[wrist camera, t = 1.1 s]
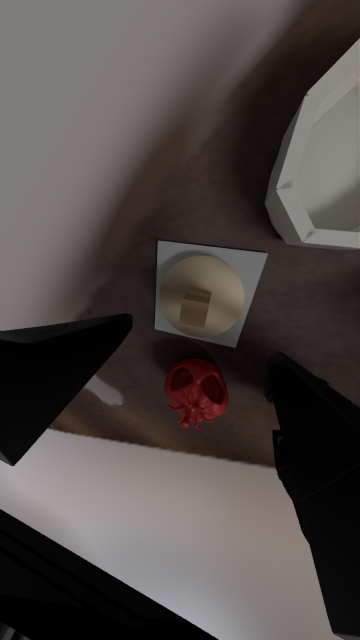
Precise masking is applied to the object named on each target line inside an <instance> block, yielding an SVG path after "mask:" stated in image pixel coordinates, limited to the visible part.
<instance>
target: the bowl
mask: <svg viewBox="0 0 360 640" xmlns="http://www.w3.org/2000/svg"><path fill="white" fill-rule="evenodd" d="M265 202H266V203H265V206H266V208H267V211H268V215H269V219H270V221H271V224H272V226H273V227H274V229H275V231H276V232H277V233H278V234H279V235H280V236H281V237H282V238H283V240H284V241H285V243H286V244H288V245H297V246H302V247H316V248H326V249H336V250H345V249H360V39H359V40H358V41H357V42H356V43H355V44H354V45H353V46H352V47H351V48H350V49H349V50H348V51H347V52H346V53H345V54H344V55H343V56H342V57H341V58H340V59H339V60H338V61H337V62H336V63H335V64H334V65H333V66H332V67H331V68H330V69H329V70H328V71H327V72H326V74H325V75H324V76H323V77H322V78H321V79H320V80H319V81H318V82H317V83H316V84H315V85H314V86H313V87H312V88H311V89H310V90H309V91H308V92H307V93H306V95H305V97H304V99H303V101H302V103H301V104H300V106H299V108H298V110H297V112H296V114H295V116H294V118H293V119H292V121H291V123H290V125H289V127H288V129H287V131H286V133H285V134H284V137H283V140H282V144H281V147H280V151H279V154H278V157H277V160H276V162H275V164H274V167H273V170H272V173H271V175H270V179H269V184H268V189H267V195H266V198H265Z"/></svg>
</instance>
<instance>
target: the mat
mask: <svg viewBox="0 0 360 640" xmlns="http://www.w3.org/2000/svg"><path fill="white" fill-rule="evenodd" d="M200 255H204V256H212V257H215V258H218V259H220V260H222V261H224V262H225V263H227V264H228V265H229V266H230V267H232V268H233V270H234V271H235V272H236V274H237V275H238V277H239V278H240V280H241V283H242V286H243V290H244V305H243V309H242V312H241V314H240V316H239V318H238V320H237V321H236V322H235V323H234V325H233V326H232V327H230V328H229V329H228V330H227V331H225V332H223V333H221V334H219V335H216V336H213V337H207V338H199V337H192V336H189V335H186V334H184V333H182V332H180V331H179V330H177V329H176V328H174V327H173V326H172V325H171V324H170V323H169V321H168V320H167V319H166V317H165V315H164V314H163V311H162V308H161V305H160V287H161V284H162V281H163V279H164V277H165V275H166V274H167V272H168V271H169V270H170V269H171V268H172V267H173V266H174V265H175V264H176V263H178V262H180V261H181V260H183V259H186V258H189V257H193V256H200ZM267 255H268V253H260V252H252V251H243V250H234V249H226V248H217V247H209V246H200V245H192V244H183V243H175V242H166V241H158V254H157V283H156V311H155V329H157V330H161V331H165V332H170V333H174V334H178V335H182V336H187V337H191V338H195V339H200V340H204V341H208V342H212V343H217V344H221V345H225V346H229V347H234V348H236V345H237V342H238V339H239V336H240V333H241V330H242V327H243V325H244V322H245V319H246V316H247V313H248V310H249V307H250V304H251V301H252V299H253V296H254V293H255V290H256V287H257V284H258V281H259V278H260V275H261V272H262V270H263V267H264V264H265V261H266V258H267Z"/></svg>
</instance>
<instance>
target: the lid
mask: <svg viewBox="0 0 360 640" xmlns="http://www.w3.org/2000/svg"><path fill="white" fill-rule="evenodd" d="M160 305H161V308H162V311H163V314H164V315H165V317H166V319H167V320H168V321H169V323H170V324H171V325H172V326H173V327H174V328H176V329H177V330H179V331H180V332H182V333H184V334H186V335H189V336H192V337H199V338H207V337H213V336H216V335H219V334H221V333H223V332H225V331H227V330H228V329H229V328H230V327H232V326H233V325H234V323H235V322H236V321H237V320H238V318H239V316H240V314H241V312H242V309H243V305H244V290H243V286H242V283H241V280H240V278H239V277H238V275H237V274H236V272H235V271H234V270H233V268H232V267H230V266H229V265H228V264H227V263H225V262H224V261H222V260H220V259H218V258H215V257H212V256H204V255H200V256H193V257H189V258H186V259H183V260H181V261H180V262H178V263H176V264H175V265H174V266H173V267H172V268H171V269H170V270H169V271H168V272H167V274H166V275H165V277H164V279H163V281H162V284H161V287H160Z"/></svg>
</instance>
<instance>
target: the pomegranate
mask: <svg viewBox="0 0 360 640" xmlns="http://www.w3.org/2000/svg"><path fill="white" fill-rule="evenodd" d="M164 391H165V394H166V397H167V398H168V400H169V402H170V403H171V405H172V406H173V407H172V406H170V405H166V406H168V407H169V408H171V409H172V410H173V411H177V412H179V413H180V414H181V415H182V417H181V418H180V420H178V421H177V422H176V423H178V422H180V421H181V420H182V419H183V420H182V421H181V423H180V424H181V426H182V427H183V428H188V427H189V420H192V421H193V422H194V427H195V428H197V429H201V428H200V427H198V426H197V422H201V421H203V420H204V421H206V422H213V421H216V420H209V419H213V418H215V417H217V416H219V415H221V414H223V413H224V412H225V411H226V409H227V405H228V398H229V397H228V392H227V386H226V384H225V381H224V378H223V376H222V374H221V373H220V370H219V369H218V368H217V367H216V366H215V365H213V364H212V363H211V362H208V361H205V360H202V359H196V358H190V359H185V360H182V361H180V362H178V363H177V364H175V365H174V366H173V367H172V369H171V370H170V372H169V373H168V375H167V377H166V380H165V384H164ZM201 430H202V429H201Z"/></svg>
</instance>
